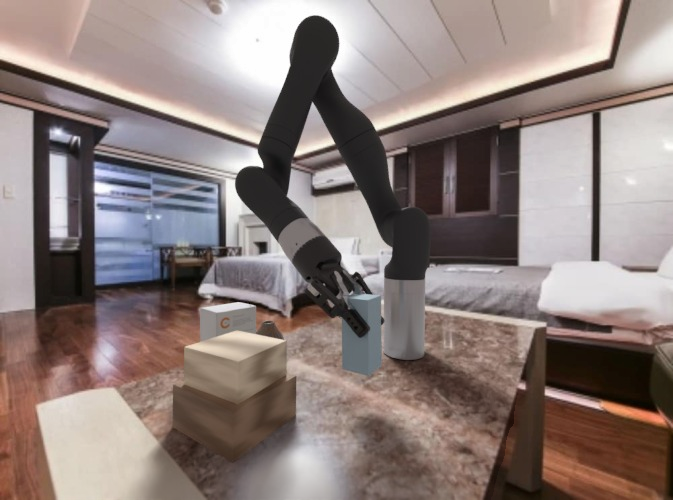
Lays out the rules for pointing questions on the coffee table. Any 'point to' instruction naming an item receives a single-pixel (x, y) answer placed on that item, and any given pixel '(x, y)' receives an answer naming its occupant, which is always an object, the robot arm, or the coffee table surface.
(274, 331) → the vase
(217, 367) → the tower top
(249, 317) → the small box
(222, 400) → the tower base
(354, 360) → the block
